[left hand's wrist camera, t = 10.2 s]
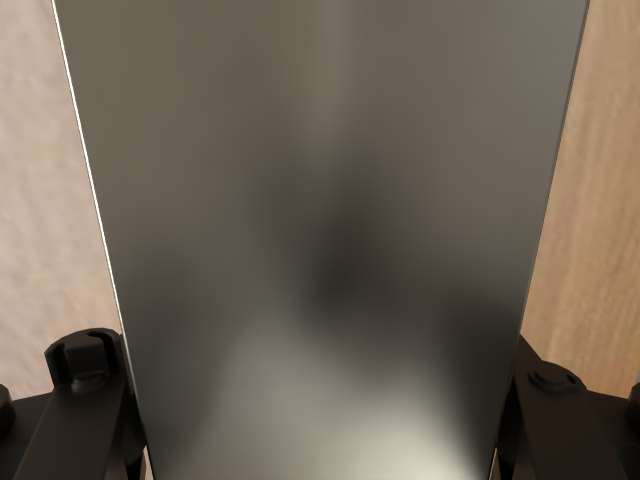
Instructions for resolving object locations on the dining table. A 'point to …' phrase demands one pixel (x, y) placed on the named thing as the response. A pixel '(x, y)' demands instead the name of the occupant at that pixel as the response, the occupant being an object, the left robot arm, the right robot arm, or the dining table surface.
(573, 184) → the dining table surface
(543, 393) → the left robot arm
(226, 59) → the bar
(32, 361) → the dining table surface
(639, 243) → the dining table surface
